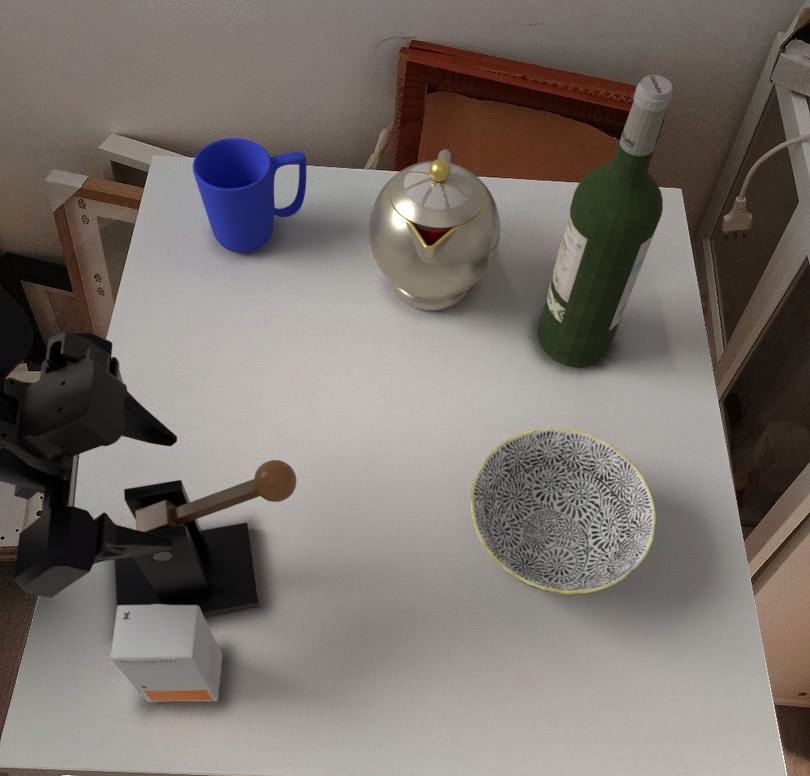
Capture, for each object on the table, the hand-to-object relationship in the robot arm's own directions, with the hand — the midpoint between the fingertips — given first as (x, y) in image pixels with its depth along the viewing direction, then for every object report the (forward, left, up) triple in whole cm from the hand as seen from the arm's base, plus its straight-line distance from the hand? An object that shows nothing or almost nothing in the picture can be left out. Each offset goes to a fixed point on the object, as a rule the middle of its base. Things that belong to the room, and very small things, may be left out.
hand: (172, 492), depth 63 cm
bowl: (+31, -4, -14) cm, 35 cm away
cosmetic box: (-3, -10, -14) cm, 17 cm away
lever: (+4, -1, -3) cm, 5 cm away
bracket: (-2, -1, -14) cm, 14 cm away
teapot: (+28, +31, -14) cm, 44 cm away
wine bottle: (+41, +19, -14) cm, 48 cm away
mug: (+10, +41, -14) cm, 45 cm away
